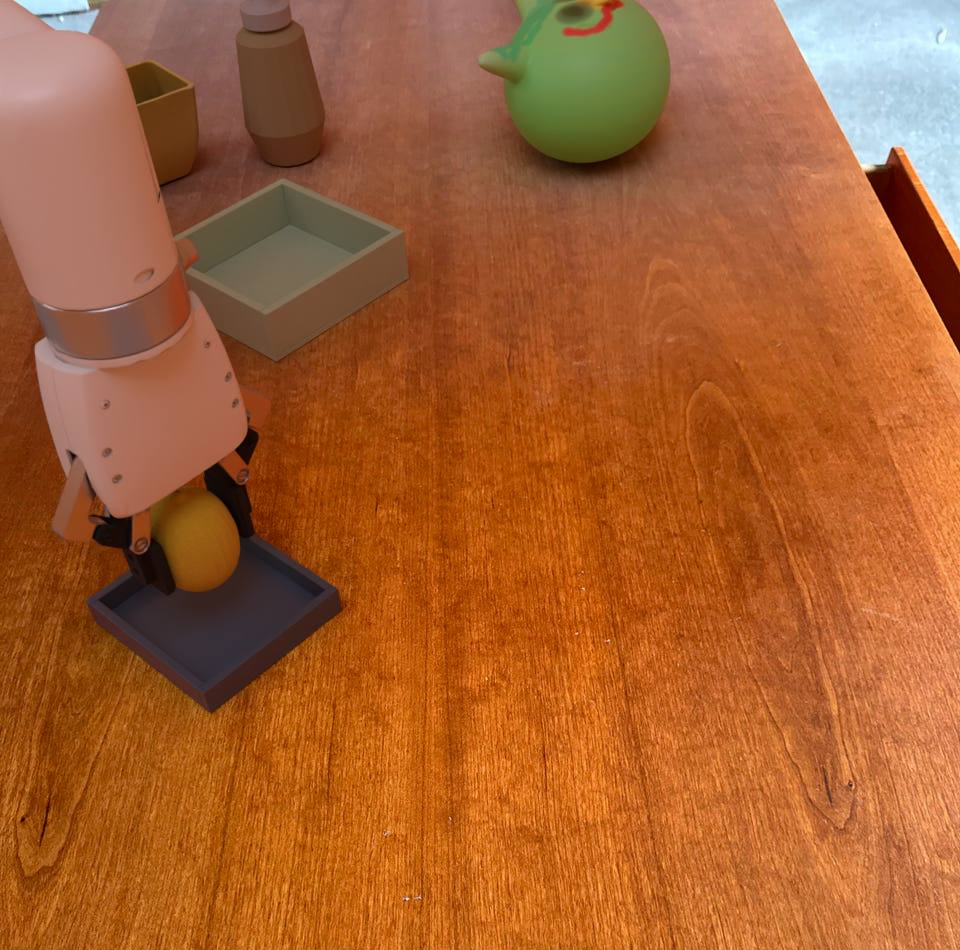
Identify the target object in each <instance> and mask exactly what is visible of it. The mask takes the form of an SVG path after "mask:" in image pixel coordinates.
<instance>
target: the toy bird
mask: <svg viewBox="0 0 960 950" xmlns="http://www.w3.org/2000/svg"><path fill="white" fill-rule="evenodd" d="M513 2H514V5H515V7H516V9H517V12H518V14H519V17H520V20H521V23H520V25H519V26H518V27H517V29H516V31H515V32H514V34H513V36H512V38H511V40H510V43H509V44H506V45H501V46H498V47H494V48H492V49H489V50H487V51H485V52H483V53H481V54H480V55H479V56H478V58H477V65H478V66H479V68H481V69H482V70H483V71H485V72H487V73H490V74H492V75H494V76H497V77H500V78H502V79H503V80H502V81H503V92H504V93H503V94H504V99H505V104H506V107H507V111H508V113H509V115H510V118H511V121H512V122H513V124H514V126H515V127H516V129H517V131H518V133H520V135H521V136H522V138H523V139H524V140H525V141H526V142H527V143H528V144H529V145H530V146H532V147H533V148H534V149H535V150H537V151H538V152H540V153H542V154H543V155H546V157H549V158H552V159H556V160H558V161H563V162H568V163H575V164H587V163H588V164H589V163H597V162H602V161H605V160H609V159H613V158H614V157H615V158H616V157H618V156H619V155H621V154H623V153H626V152H627V151H629V150H631V149H632V148H633V147H635V146H637V145H638V144H639V143H641V142H642V141H643V140H644V139H645V138H646V137H647V136H648V135H649V134H650V132H651V131H652V130H653V129H654V127H655V126H656V124H657V123H658V122H659V120H660V118H661V116H662V113H663V111H664V109H665V106H666V104H667V101H668V96H669V93H670V86H671V59H670V58H671V57H670V53H669V49H668V44H667V41H666V38H665V36H664V34H663V32H662V30H661V27H660V26H659V23H658V22H657V21H656V19H655V18H654V16H653V15H652V14H651V13H650V12H649V11H648V9H646V8H645V7H644V6H643V5H642V4H641V3H639V2H638V1H637V0H513Z"/></svg>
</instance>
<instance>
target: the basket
mask: <svg viewBox="0 0 960 950" xmlns="http://www.w3.org/2000/svg"><path fill="white" fill-rule="evenodd" d="M185 237H186V238H189V239H190V240H191V241H192V242H193V244H194V245H195V247H196V248H197V251H198V254H199V259H198V261H196V262H195V263H193V264H191V265H190V267H189V269H188V270H186V276H187V280H188V284H189V287H190V290H192V291H193V292H194V293H195V294H196V295H197V296H198V297H199V299H200V301H201V302H202V304H203V306H204V307H205V309H206V311H207V313H208V315H209V317H210V319H211V320H212V322H213V324H214V326H215V328H216V330H217V331H220V332H221V333H223V334H225V335H227V336H229V337H231V338H232V339H234V340H236V341H238V342H240V343H241V344H243V345H245V346H247V347H249V348H250V349H252V350H253V351H256V352H257V353H259V354H261V355H263V356H264V357H266V358H268V359H270V360H272V361H274V362H275V363H277V362H279V361H280V360H282V359H284V358H285V357H287V356H288V355H290V354H292V353H293V352H295V351H297V350H298V349H299V348H301V347H303V346H304V345H306V344H308V343H309V342H311V341H312V340H314V339H315V338H317V337H318V336H320V335H322V334H323V333H325V332H326V331H328V330H330V329H331V328H333V327H335V326H336V325H338V324H339V323H340V322H342V321H344V320H345V319H347V318H348V317H350V316H352V315H354V313H357V312H358V311H360V310H361V309H363V308H364V307H366V306H368V305H369V304H370V303H372V302H374V301H375V300H376V299H378V298H380V297H382V296H383V295H385V294H387V293H388V292H389V291H391V290H393V289H394V288H396V287H398V286H399V285H400V284H402V283H403V282H405V281H407V280H408V279H410V273H409V265H408V263H409V262H408V255H407V254H408V253H407V247H406V239H405V238H406V236H405V230H402V229H401V228H398V227H396V226H394V225H392V224H389V223H387V222H384V221H383V220H380V219H378V218H375V217H374V216H371V215H368V214H367V213H364V212H362V211H359V210H357V209H356V208H353V207H350V206H348V205H346V204H343V203H341V202H339V201H337V200H334V199H332V198H329V197H327V196H325V195H323V194H321V193H318V192H316V191H314V190H312V189H310V188H307V187H305V186H303V185H299V183H296V182H293V181H291V180H288V179H286V178H284V177H282V178H280V179H278V180H276V181H274V182H273V183H271V184H269V185H267V186H265V187H263V188H262V189H259V190H258V191H256V192H254V193H252V194H250V195H248V196H246V197H244V198H243V199H241V200H239V201H237V202H235V203H234V204H232V205H230V206H228V207H226V208H224V209H223V210H220V211H219V212H216V213H215V214H213V215H211V216H209V217H207V218H206V219H204V220H202V221H200V222H198V223H196V224H195V225H192V226H190V227H189V228H187V229H185V230H183V231H181V232H180V233H178V234H176V235H173V238H174V241H175V242H177V241H179V240H181V239H182V238H185Z"/></svg>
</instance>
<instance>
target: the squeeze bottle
mask: <svg viewBox="0 0 960 950" xmlns="http://www.w3.org/2000/svg"><path fill="white" fill-rule="evenodd" d="M239 13H240V18H241V23H242V27H241V28H240V29H239V30H238V31H237V33H236V34H235V46H236V56H237V64H238V75H239V83H240V93H241V100H242V101H241V102H242V110H243V121H244V127H245V129H246V131H247V132H248V134H249V136H250V137H251V139H252V141H253V142H254V145H255V147H256V148H257V150H258V152H259V154H260V155H261V157H262V159H263V160H264V161H265V162H266V163H268V164H271V165H272V166H278V167H291V166H298V165H302V164H304V163H309V161H311V160H313V159H315V158H316V157H317V156H318V155H319V154H320V152H321V148H322V147H321V146H322V140H323V134H324V128H325V127H324V126H325V121H326V109H325V106H324V102H323V98H322V95H321V91H320V87H319V83H318V79H317V75H316V71H315V67H314V63H313V59H312V55H311V51H310V48H309V45H308V41H307V36H306V33H305V28H304V26H302V25H301V24H299V22H297V21H296V20H294V19H293V17H292V10H291V4H290V0H244V1H243V2H242V3H241V4H240V5H239Z"/></svg>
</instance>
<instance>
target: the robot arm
mask: <svg viewBox="0 0 960 950" xmlns="http://www.w3.org/2000/svg"><path fill="white" fill-rule="evenodd" d="M125 67H126V65H124V62H123V60H121V58H120V56H119V55H118V54H117V52H116V51H115V50H114V49H113V48H112V47H111V46H110V45H109V44H107V43H106V42H105V41H103V40H102V39H100V38H98V37H96V36H94V35H92V34H89V33H85V32H82V31H77V30H68V29H55V28H54V27H52V26H50V25H49V24H48V23H47V22H45V21H44V20H43V19H41V18H39V17H38V15H36V14H34V13H33V12H31V11H30V10H29V9H28V8H26V7H25V6H24V5H22V4H20V3H19V2H17V1H16V0H0V222H1V225H2V228H3V230H4V233H5V235H6V238H7V240H8V243H9V246H10V248H11V251H12V254H13V257H14V258H15V262H16V264H17V266H18V270H19V272H20V274H21V277H22V279H23V282H24V284H25V286H26V288H27V293H28V295H29V297H30V300H31V302H32V305H33V307H34V310H35V312H36V315H37V318H38V320H39V322H40V325H41V328H42V331H43V333H44V336H45V337H43V338H42V339H40V340H39V341H37V342H36V343H35V345H34V360H35V368H36V369H35V370H36V374H37V380H38V386H39V387H38V388H39V392H40V397H41V401H42V405H43V410H44V413H45V416H46V421H47V425H48V427H49V431H50V434H51V437H52V441H53V443H54V448H55V450H56V453H57V456H58V459H59V462H60V464H61V467H62V470H63V472H64V475H65V478H66V480H65V484H64V486H63V490H62V492H61V495H60V498H59V500H58V503H57V506H56V509H55V513H54V515H53V518H52V521H51V525H50V526H51V530H52V531H53V532H54V533H56V534H57V535H58V536H60V537H61V538H62V539H64V540H65V541H67V542H71V543H72V542H73V543H74V542H75V543H83V544H85V543H86V544H92V543H94V544H95V543H96V544H99V546H102V547H108V548H115V549H121V550H122V553H123V556H124V558H125V561H126V563H127V565H128V568H129V570H130V571H131V573H132V574H133V576H134V577H135V578H136V579H137V580H138V581H139V582H140V583H141V584H143V585H144V586H147V585H149V584H152V585H153V586H154V587H156V588H157V589H158V590H160V591H161V592H163V593H164V594H165V595H167V596H169V595H170V594H172V593H173V592H174V591H175V588H176V584H175V581H174V578H173V576H172V573H171V570H170V567H169V565H168V562H167V559H166V556H165V553H164V551H163V548H162V546H161V545H160V544H159V543H158V542H157V541H155V540H154V539H153V538H151V537H150V535H151V506H152V505H153V504H155V503H156V502H158V501H159V500H161V499H163V498H164V497H166V496H167V495H169V494H170V493H172V492H173V491H175V490H176V489H178V488H179V487H181V486H185V484H187V483H189V482H190V481H192V480H193V479H194V478H196V477H198V476H199V475H201V474H203V475H204V476H203V481H204V485H205V488H206V490H208V491H210V492H211V493H213V494H214V495H215V496H217V497H218V498H219V499H220V500H221V501H222V502H223V503H224V505H225V506H226V507H227V509H228V510H229V512H230V514H231V516H232V517H233V519H234V521H235V523H236V526H237V529H238V533H239V536H241V537H242V538H244V539H245V538H247V539H248V538H250V537H251V536H253V535H254V534H256V530H255V527H254V524H253V520H252V516H251V513H253V508H252V503H251V501H250V497H249V493H248V489H247V486H246V484H247V483H248V481H249V480H250V479H251V476H252V471H251V468H250V467H249V465H250V462H251V459H252V457H253V455H254V452H255V450H256V447H257V445H258V443H259V440H260V435H259V431H261V430H262V428H263V426H264V425H265V422H266V420H267V418H268V416H269V413H270V411H271V409H272V407H273V401H272V399H270V398H269V397H267V396H265V395H264V394H262V393H260V392H258V391H257V390H255V389H252V388H249V387H248V386H246V385H242V384H241V383H239V382H238V380H237V377H236V373H235V371H234V368H233V364H232V363H231V360H230V357H229V354H228V352H227V350H226V347H225V345H224V343H223V341H222V338H221V337H220V334H219V332H218V329H216V328H215V326H214V324H213V322H212V320H211V319H210V317H209V315H208V313H207V311H206V309H205V307H204V306H203V304H202V302H201V301H200V299H199V297H198V296H197V295H196V294H195V293H194V292H193V291H192V290H190V287H189V284H188V280H187V276H186V270H188V269H189V267H190V265H191V264H193V263H195V262H196V261H198V259H199V254H198V251H197V248H196V247H195V245H194V244H193V242H192V241H191V240H190V239H189V238H186V237H185V238H182V239H181V240H179V241H177V242H175V241H174V238H173V237H174V235H173V231H172V228H171V225H170V220H169V217H168V214H167V209H166V206H165V202H164V198H163V194H162V191H161V188H160V185H159V184H158V180H157V177H156V173H155V169H154V166H153V162H152V159H151V155H150V151H149V148H148V144H147V141H146V137H145V133H144V130H143V126H142V123H141V119H140V116H139V112H138V108H137V105H136V101H135V98H134V94H133V90H132V87H131V83H130V80H129V77H128V74H127V71H126V68H125ZM96 497H97V498H98V499H99V501H100V502H101V504H104V515H100V514H99V515H98V514H91V511H92V508H93V505H94V502H95V501H96Z"/></svg>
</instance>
